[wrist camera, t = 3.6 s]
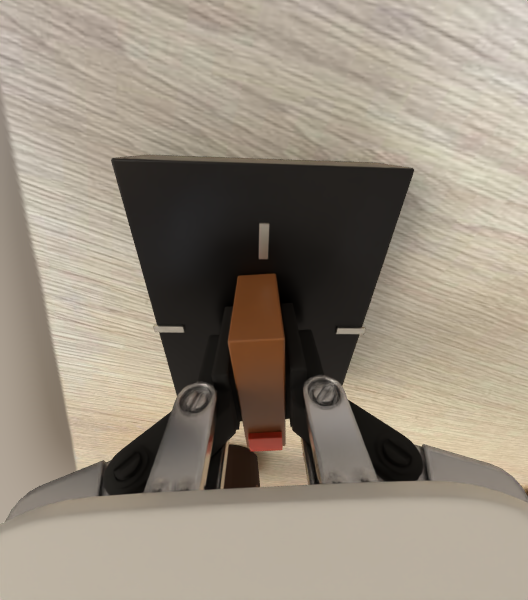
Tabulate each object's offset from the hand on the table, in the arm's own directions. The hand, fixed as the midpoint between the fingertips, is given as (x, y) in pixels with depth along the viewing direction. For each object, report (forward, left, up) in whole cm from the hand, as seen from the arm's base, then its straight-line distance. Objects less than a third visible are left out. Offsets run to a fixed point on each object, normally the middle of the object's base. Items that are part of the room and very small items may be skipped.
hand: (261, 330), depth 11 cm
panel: (0, 0, -3) cm, 3 cm away
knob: (0, 0, 0) cm, 0 cm away
